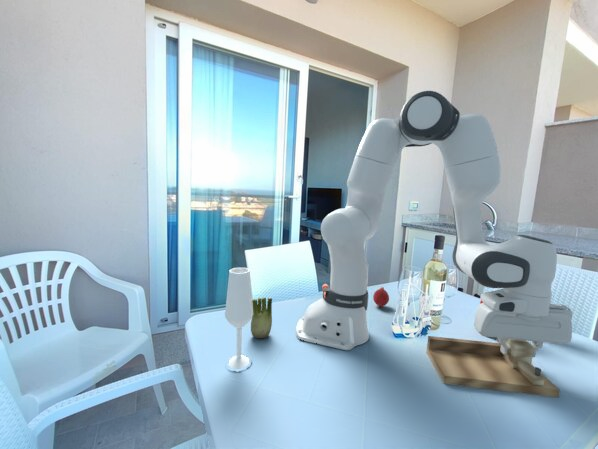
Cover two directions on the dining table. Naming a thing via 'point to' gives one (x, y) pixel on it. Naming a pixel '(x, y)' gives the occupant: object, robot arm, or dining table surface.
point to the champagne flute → (239, 309)
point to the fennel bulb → (261, 318)
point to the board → (481, 367)
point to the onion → (381, 297)
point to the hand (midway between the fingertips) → (517, 354)
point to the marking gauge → (523, 360)
